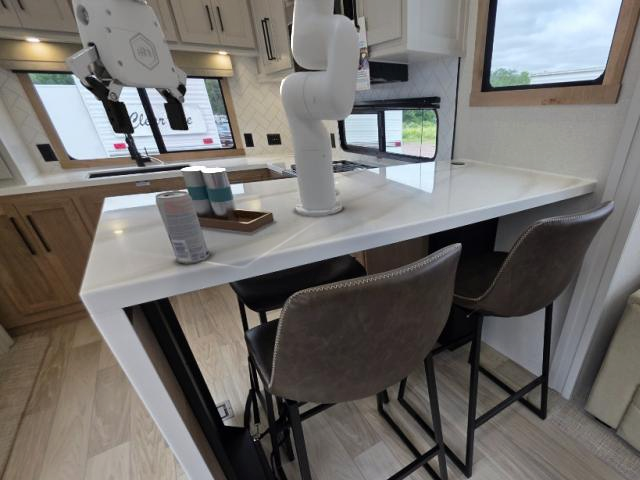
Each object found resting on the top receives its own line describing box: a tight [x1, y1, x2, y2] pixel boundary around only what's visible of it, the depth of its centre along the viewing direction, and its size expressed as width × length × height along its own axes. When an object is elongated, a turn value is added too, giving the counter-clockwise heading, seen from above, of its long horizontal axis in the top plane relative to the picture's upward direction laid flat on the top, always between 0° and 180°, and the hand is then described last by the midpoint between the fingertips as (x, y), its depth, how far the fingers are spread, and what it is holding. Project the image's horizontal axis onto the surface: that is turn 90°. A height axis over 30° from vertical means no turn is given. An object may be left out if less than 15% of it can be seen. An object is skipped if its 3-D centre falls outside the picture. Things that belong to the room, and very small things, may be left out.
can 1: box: [180, 166, 215, 219], centre depth 78 cm, size 5×5×12 cm
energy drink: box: [154, 190, 210, 265], centre depth 60 cm, size 5×5×12 cm
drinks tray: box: [198, 208, 275, 234], centre depth 80 cm, size 9×19×2 cm, turn 74°
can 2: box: [201, 167, 239, 222], centre depth 77 cm, size 5×5×12 cm
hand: (154, 131), depth 52 cm, fingers open, 9 cm apart
